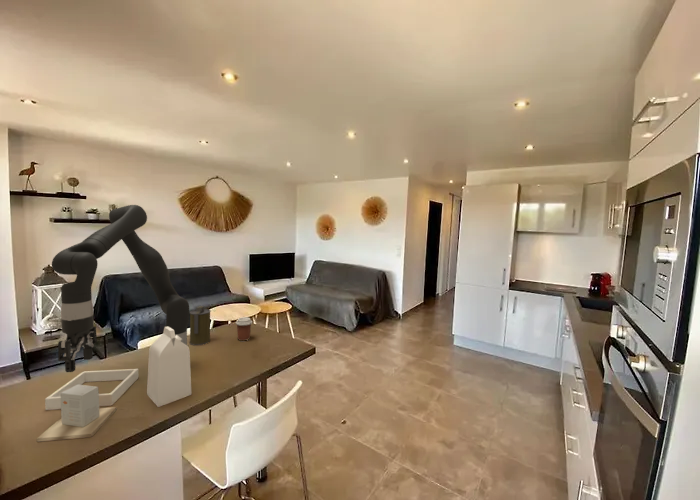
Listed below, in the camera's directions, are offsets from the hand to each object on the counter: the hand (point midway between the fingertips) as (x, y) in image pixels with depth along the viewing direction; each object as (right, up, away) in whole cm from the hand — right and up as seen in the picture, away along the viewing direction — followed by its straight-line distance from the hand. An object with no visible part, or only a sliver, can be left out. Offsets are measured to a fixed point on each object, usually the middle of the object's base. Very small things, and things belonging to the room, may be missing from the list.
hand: (79, 365), depth 96 cm
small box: (-1, -19, +2) cm, 19 cm away
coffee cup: (+24, -15, +79) cm, 84 cm away
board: (-1, -20, +2) cm, 20 cm away
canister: (+2, -15, +73) cm, 74 cm away
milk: (+16, -19, +21) cm, 33 cm away
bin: (-11, -18, +20) cm, 29 cm away
